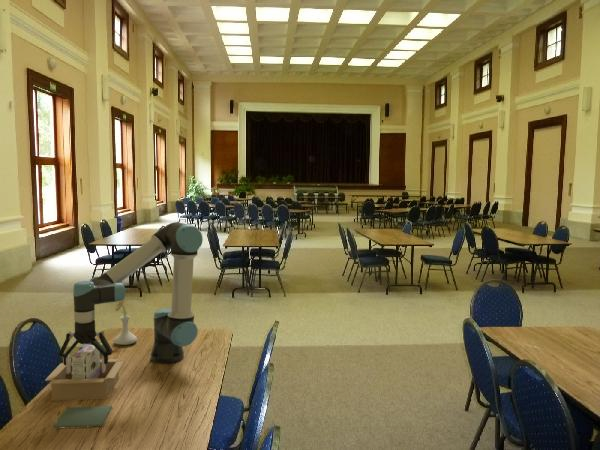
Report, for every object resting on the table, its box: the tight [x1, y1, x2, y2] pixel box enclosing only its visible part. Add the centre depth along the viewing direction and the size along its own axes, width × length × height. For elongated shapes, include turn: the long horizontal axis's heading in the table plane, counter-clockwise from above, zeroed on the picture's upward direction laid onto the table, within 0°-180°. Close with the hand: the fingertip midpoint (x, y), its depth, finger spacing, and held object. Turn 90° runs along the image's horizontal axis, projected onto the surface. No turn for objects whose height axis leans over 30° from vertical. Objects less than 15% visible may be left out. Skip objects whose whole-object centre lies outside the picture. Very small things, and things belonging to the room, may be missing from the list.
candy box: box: [70, 345, 101, 379], centre depth 203 cm, size 14×6×16 cm, turn 178°
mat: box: [52, 405, 113, 429], centre depth 181 cm, size 16×14×1 cm
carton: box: [44, 358, 125, 402], centre depth 204 cm, size 25×23×8 cm
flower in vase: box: [113, 298, 138, 346], centre depth 256 cm, size 13×11×25 cm
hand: (86, 372), depth 203 cm, fingers open, 13 cm apart
